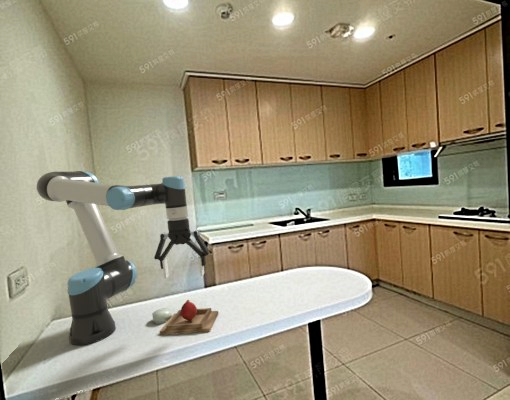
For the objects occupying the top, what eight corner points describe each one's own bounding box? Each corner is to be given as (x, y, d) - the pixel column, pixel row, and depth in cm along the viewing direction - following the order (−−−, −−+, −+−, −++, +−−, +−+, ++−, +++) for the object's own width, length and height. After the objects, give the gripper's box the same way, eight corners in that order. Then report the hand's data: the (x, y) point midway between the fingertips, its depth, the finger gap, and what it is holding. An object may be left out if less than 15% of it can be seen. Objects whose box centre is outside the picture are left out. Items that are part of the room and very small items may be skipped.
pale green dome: (150, 324, 116) (149, 316, 116) (157, 316, 123) (156, 308, 123) (167, 323, 115) (166, 315, 115) (174, 314, 122) (173, 307, 122)
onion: (183, 326, 109) (180, 304, 108) (181, 320, 114) (178, 299, 113) (199, 321, 111) (196, 300, 110) (196, 315, 116) (193, 295, 116)
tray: (159, 334, 107) (159, 327, 107) (174, 316, 121) (173, 309, 121) (209, 331, 105) (208, 324, 105) (218, 313, 119) (217, 307, 119)
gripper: (140, 223, 108) (147, 281, 109) (208, 217, 105) (215, 276, 107) (149, 220, 115) (156, 274, 117) (213, 214, 113) (219, 270, 114)
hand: (184, 276), depth 112 cm, fingers open, 13 cm apart
